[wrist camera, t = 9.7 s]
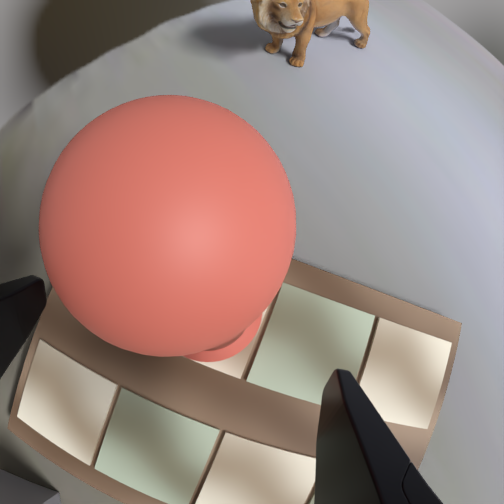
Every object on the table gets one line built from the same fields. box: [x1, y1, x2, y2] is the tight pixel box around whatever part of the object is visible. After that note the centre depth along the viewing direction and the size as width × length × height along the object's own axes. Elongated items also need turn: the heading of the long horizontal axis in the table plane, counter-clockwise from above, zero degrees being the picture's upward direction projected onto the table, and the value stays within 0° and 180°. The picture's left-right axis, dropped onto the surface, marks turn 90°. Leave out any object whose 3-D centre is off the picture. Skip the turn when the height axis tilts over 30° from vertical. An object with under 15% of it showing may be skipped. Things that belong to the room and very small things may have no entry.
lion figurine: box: [251, 0, 370, 67], centre depth 20 cm, size 15×5×9 cm, turn 133°
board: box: [8, 259, 462, 504], centre depth 15 cm, size 16×23×1 cm
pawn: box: [39, 95, 296, 362], centre depth 9 cm, size 5×5×13 cm
